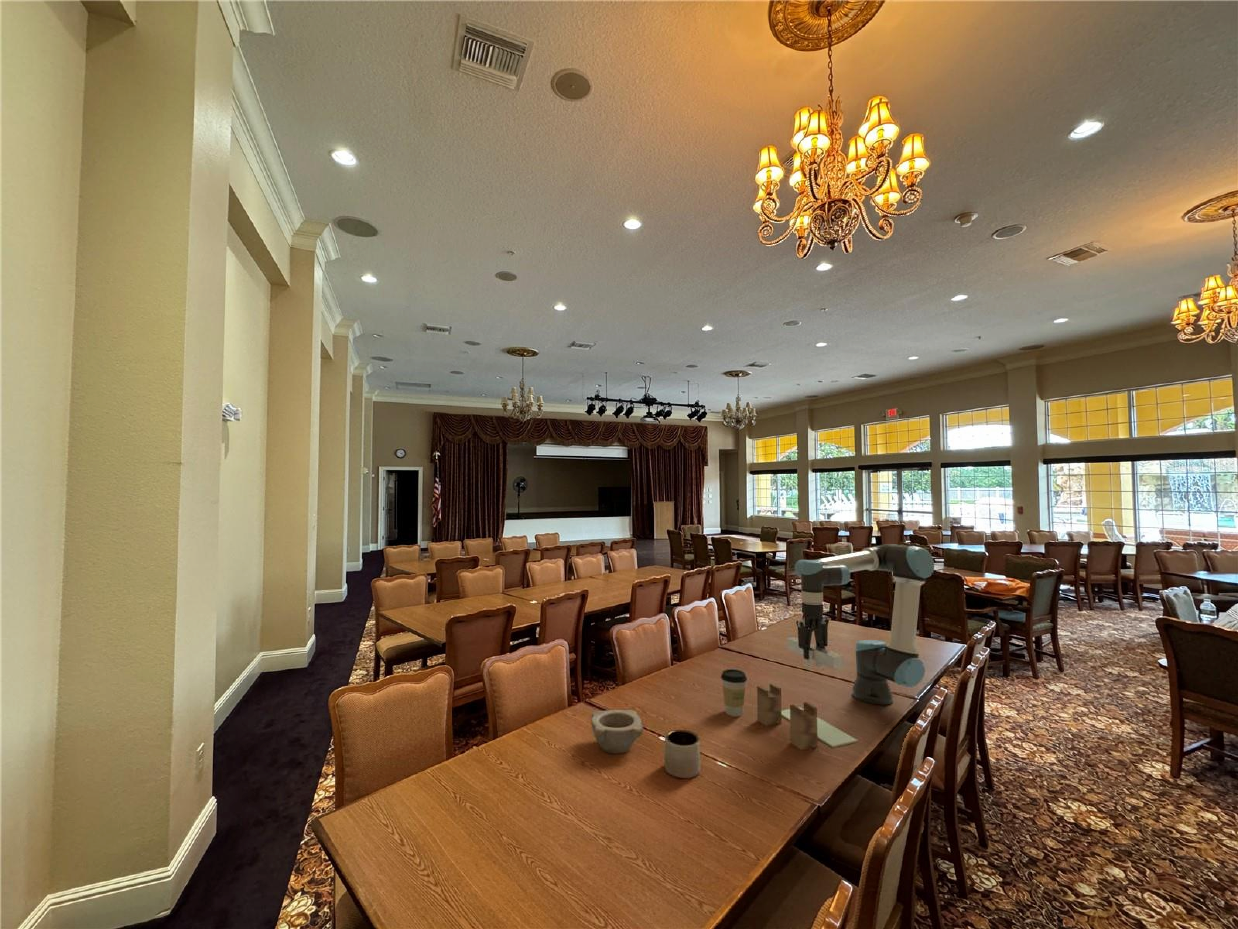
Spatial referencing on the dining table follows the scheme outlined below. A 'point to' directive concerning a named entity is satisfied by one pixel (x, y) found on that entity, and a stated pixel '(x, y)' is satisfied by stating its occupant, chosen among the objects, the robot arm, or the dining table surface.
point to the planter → (682, 753)
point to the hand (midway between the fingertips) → (813, 667)
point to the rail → (817, 654)
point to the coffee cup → (734, 691)
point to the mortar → (616, 729)
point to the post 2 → (803, 726)
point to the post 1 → (769, 705)
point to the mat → (827, 732)
